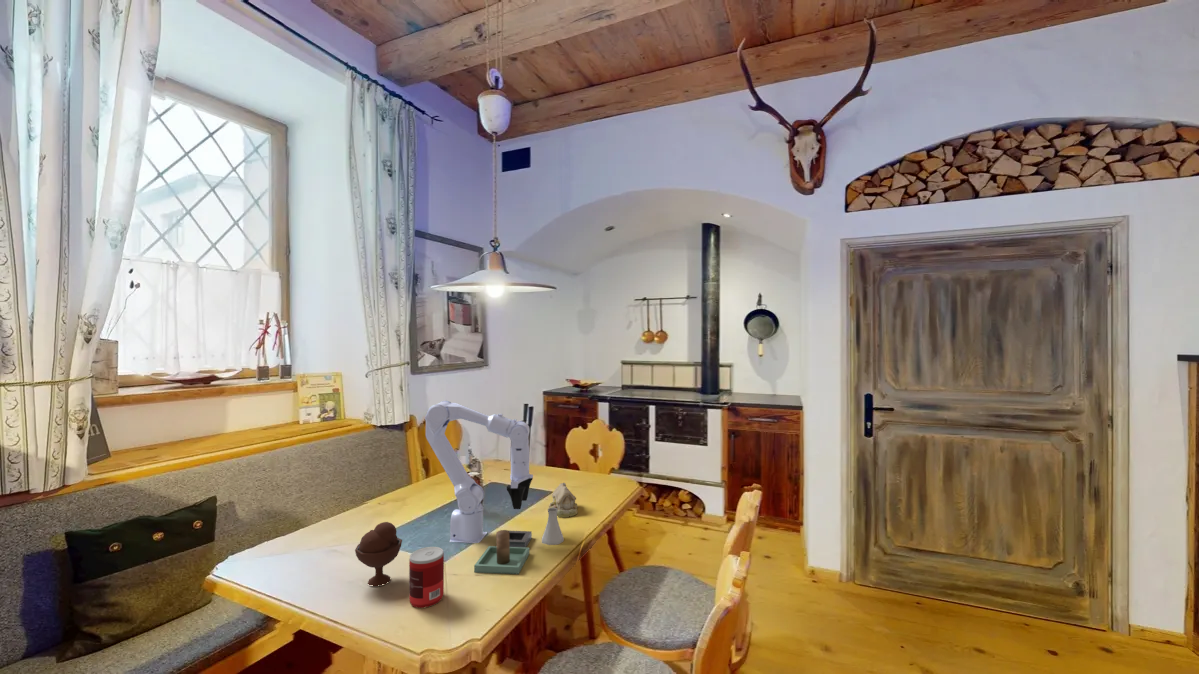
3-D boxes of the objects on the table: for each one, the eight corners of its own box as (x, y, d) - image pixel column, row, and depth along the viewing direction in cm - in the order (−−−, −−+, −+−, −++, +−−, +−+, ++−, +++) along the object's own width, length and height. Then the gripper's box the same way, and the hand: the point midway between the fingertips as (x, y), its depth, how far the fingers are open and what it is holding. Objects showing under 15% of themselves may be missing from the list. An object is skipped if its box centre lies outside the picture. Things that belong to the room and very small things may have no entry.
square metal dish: (498, 549, 141) (498, 541, 142) (506, 538, 149) (506, 530, 149) (525, 550, 141) (525, 542, 141) (531, 539, 149) (531, 531, 149)
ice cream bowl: (388, 567, 131) (388, 512, 131) (409, 580, 123) (409, 522, 124) (348, 582, 122) (348, 524, 122) (368, 597, 115) (368, 535, 115)
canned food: (447, 590, 119) (447, 546, 119) (437, 608, 111) (437, 560, 111) (416, 591, 118) (416, 546, 118) (404, 609, 110) (404, 561, 110)
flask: (560, 547, 143) (560, 514, 143) (537, 545, 144) (537, 512, 144) (567, 538, 150) (567, 506, 150) (545, 536, 151) (545, 504, 151)
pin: (495, 564, 131) (494, 534, 131) (498, 558, 134) (498, 529, 134) (507, 564, 130) (507, 534, 130) (511, 558, 134) (510, 530, 134)
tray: (474, 574, 127) (474, 565, 127) (488, 553, 139) (488, 546, 139) (518, 576, 126) (518, 567, 126) (529, 555, 138) (529, 547, 138)
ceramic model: (545, 506, 179) (545, 479, 179) (574, 502, 183) (574, 476, 183) (553, 519, 166) (553, 490, 166) (584, 515, 169) (584, 487, 169)
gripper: (526, 467, 143) (527, 513, 143) (537, 455, 157) (537, 497, 157) (503, 467, 143) (504, 512, 143) (516, 455, 158) (516, 496, 158)
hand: (520, 504), depth 150 cm, fingers open, 7 cm apart
